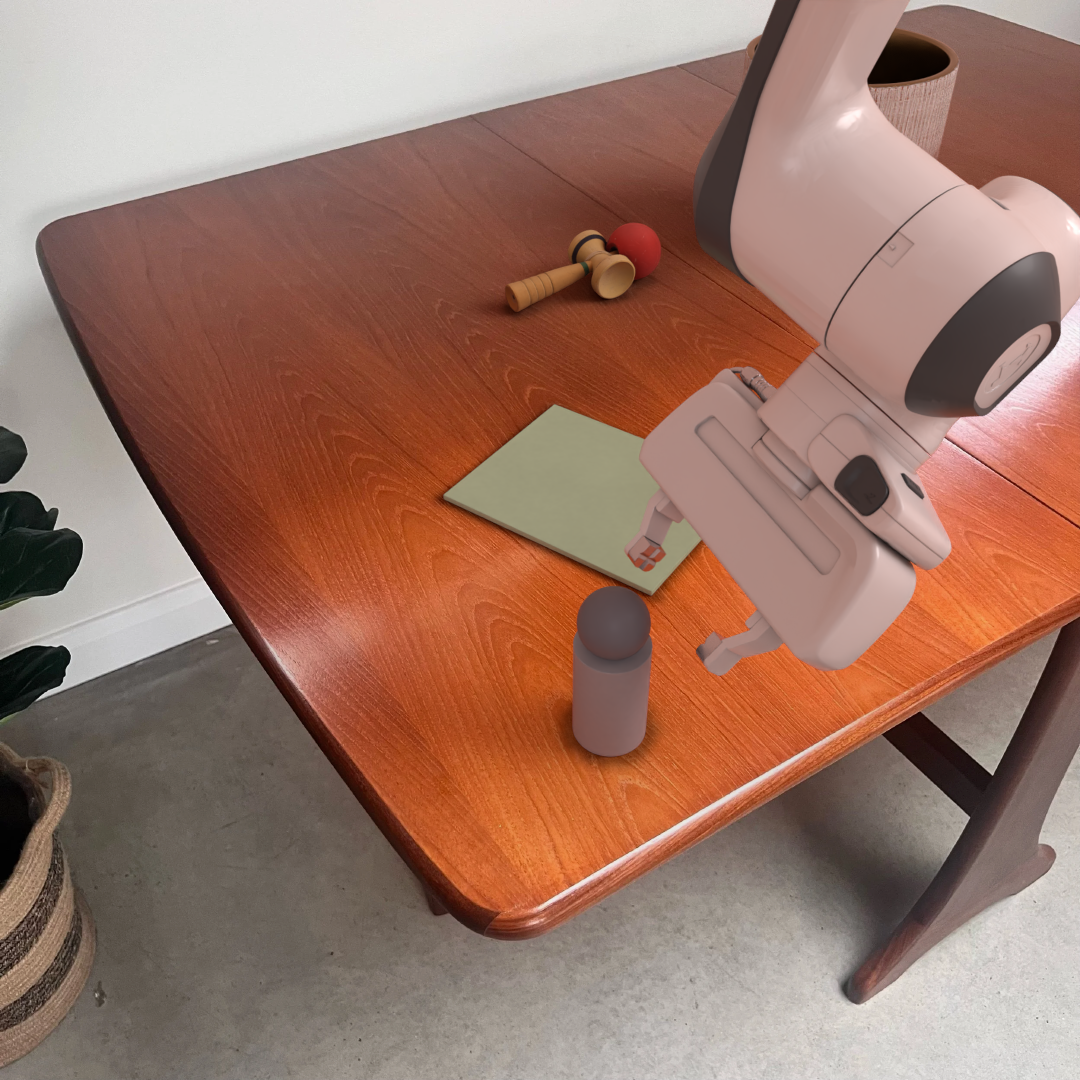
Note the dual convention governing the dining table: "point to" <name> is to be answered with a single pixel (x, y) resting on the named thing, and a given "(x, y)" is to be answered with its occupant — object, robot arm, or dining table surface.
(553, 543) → the mat
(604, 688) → the ball
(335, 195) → the dining table surface
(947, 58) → the planter
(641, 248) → the kendama
